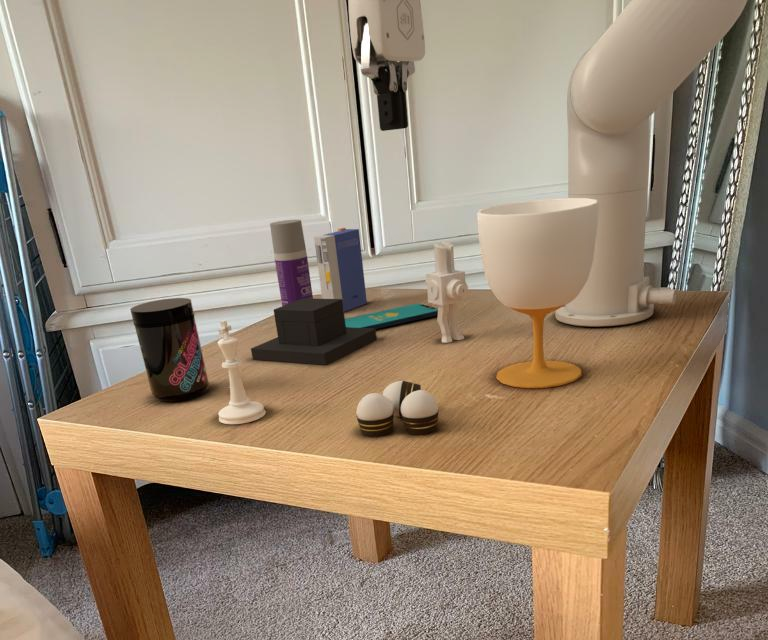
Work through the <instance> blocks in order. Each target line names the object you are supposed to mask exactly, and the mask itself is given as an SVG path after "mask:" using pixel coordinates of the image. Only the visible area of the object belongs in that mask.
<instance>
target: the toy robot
mask: <svg viewBox="0 0 768 640" xmlns="http://www.w3.org/2000/svg"><path fill="white" fill-rule="evenodd" d="M433 253H434V264H435V265H434V267H435V271H433V272H428V273H426V274H425V281H424V282H425V285H426V292H427V293H426V294H427V302H428V303H430V304H434V305H438V308H437V309H438V315H437V323H438V325H439V327H440V328H439V329H440V332H441V343H443V344H448V343H452V342H453V341H461V340H464V339H465V336H464V335H463V334H462V333H461V328H460V325H459V303H461V302H466V301H467V295H468V293H469V285H468V283H467V282H466V271H462V270H458V269H457V270H456V269H455V255H454V244H453V243H452V242H449V241H440V244H439V243H438V242H434V244H433Z"/></svg>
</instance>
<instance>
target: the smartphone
mask: <svg viewBox="0 0 768 640" xmlns="http://www.w3.org/2000/svg"><path fill="white" fill-rule="evenodd" d="M435 316H438V308H436V307H433V306H430V305H427V304H423V303H413V304H409V305H408V304H407V305H404V306H398V307H395V308H390V309H384V310H380V311H375V312H372V313H371V312H370V313H367V314H362V315H356V316H352V317H347V318H345V325H346V327H352V328H375V329H376V330H378V329H383V328H387V327H391V326H396V325H401V324H405V323H409V322H413V321H418V320H423V319H427V318H432V317H435Z"/></svg>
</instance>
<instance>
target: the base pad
mask: <svg viewBox="0 0 768 640" xmlns="http://www.w3.org/2000/svg"><path fill="white" fill-rule="evenodd" d="M377 339H378V338H377V329H375V328H352V327H346V333H345V334H343V335H341V336H339V337H336V338H334V339H332V340H330V341H328V342H326V343H324V344H321V345H319V346H310V345H293V344H279V340H278V336H277V337H275V338H272V339H269V340H267V341H266V342H265V341H264V342H263V343H261V344H258V345H255V346H253V347H251V348H250V352H251V357H252V360H255V361H268V362H281V363H295V364H307V365H308V364H309V365H311V364H312V365H322V366H327V365H329V364H331V363H333V362H335V361H338V360H339V359H340V358H341V359H342V357H344V356H346V355H348V354H351V353H352V352H354V351H356V350H358V349H360V348H362V347H364V346H366V345H368V344H370V343H372V342H374V341H376V340H377Z"/></svg>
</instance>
